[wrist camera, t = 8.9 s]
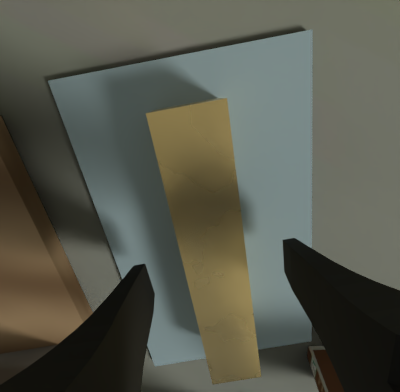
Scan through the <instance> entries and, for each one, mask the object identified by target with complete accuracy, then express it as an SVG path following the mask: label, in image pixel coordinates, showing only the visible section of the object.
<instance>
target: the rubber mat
mask: <svg viewBox="0 0 400 392" xmlns="http://www.w3.org/2000/svg"><path fill="white" fill-rule="evenodd" d="M48 83H49V85H50V88H51V91H52V93H53V96H54V99H55V101H56V104H57V107H58V109H59V112H60V115H61V117H62V120H63V123H64V125H65V128H66V131H67V133H68V136H69V139H70V141H71V144H72V147H73V149H74V152H75V155H76V157H77V160H78V163H79V165H80V168H81V171H82V173H83V176H84V179H85V181H86V184H87V187H88V189H89V192H90V195H91V197H92V200H93V203H94V205H95V208H96V211H97V213H98V216H99V218H100V221H101V224H102V226H103V229H104V232H105V234H106V237H107V240H108V242H109V245H110V248H111V250H112V253H113V256H114V258H115V261H116V264H117V266H118V269H119V272H120V274H121V277H122V279H123V278H124V277H125V276H126V274H127V273H128V272H129V271H130V269H131V268H132V267H133V266H134V265H140V264H146V268H147V271H148V274H149V277H150V280H151V283H152V286H153V290H154V293H155V299H154V313H153V318H152V323H151V328H150V333H149V338H148V343H147V346H148V349H149V352H150V354H151V357H152V360H153V362H154V365H155V366H160V365H166V364H172V363H179V362H185V361H191V360H197V359H204V358H206V355H205V351H204V347H203V343H202V339H201V335H200V331H199V327H198V323H197V319H196V315H195V311H194V307H193V303H192V299H191V294H190V290H189V286H188V282H187V278H186V274H185V270H184V266H183V262H182V258H181V254H180V250H179V246H178V242H177V238H176V234H175V230H174V226H173V222H172V218H171V214H170V210H169V206H168V201H167V197H166V193H165V189H164V185H163V181H162V177H161V173H160V169H159V165H158V161H157V157H156V153H155V149H154V145H153V141H152V137H151V133H150V129H149V125H148V121H147V117H146V113H148V112H151V111H154V110H157V109H162V108H168V107H173V106H178V105H183V104H189V103H194V102H199V101H205V100H210V99H215V98H227V102H228V110H229V118H230V126H231V134H232V142H233V151H234V159H235V167H236V175H237V183H238V191H239V200H240V208H241V216H242V224H243V232H244V240H245V249H246V257H247V265H248V273H249V281H250V289H251V298H252V306H253V314H254V322H255V330H256V338H257V347H258V350H260V349H266V348H272V347H278V346H284V345H291V344H297V343H303V342H309V341H312V323H311V321H310V320H309V318H308V316H307V315H306V313H305V311H304V309H303V308H302V306H301V304H300V303H299V301H298V299H297V298H296V296H295V294H294V292H293V291H292V289H291V286H290V284H289V282H288V279H287V277H286V275H285V272H284V257H283V240H285V239H291V238H296V239H297V240H299V241H301V242H302V243H304V244H305V245H307V246H308V247H310V248H312V30H307V31H302V32H297V33H291V34H286V35H281V36H276V37H271V38H266V39H260V40H255V41H250V42H245V43H240V44H235V45H230V46H224V47H219V48H214V49H209V50H204V51H199V52H193V53H188V54H183V55H178V56H173V57H168V58H163V59H157V60H152V61H147V62H142V63H137V64H132V65H126V66H121V67H116V68H111V69H106V70H101V71H96V72H90V73H85V74H80V75H75V76H70V77H65V78H59V79H54V80H49V81H48Z"/></svg>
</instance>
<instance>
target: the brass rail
mask: <svg viewBox="0 0 400 392" xmlns="http://www.w3.org/2000/svg"><path fill="white" fill-rule="evenodd" d="M146 117H147V121H148V125H149V129H150V133H151V137H152V141H153V145H154V149H155V153H156V157H157V161H158V165H159V169H160V173H161V177H162V181H163V185H164V189H165V193H166V197H167V201H168V206H169V210H170V214H171V218H172V222H173V226H174V230H175V234H176V238H177V242H178V246H179V250H180V254H181V258H182V262H183V266H184V270H185V274H186V278H187V282H188V286H189V290H190V294H191V299H192V303H193V307H194V311H195V315H196V319H197V323H198V327H199V331H200V335H201V339H202V343H203V347H204V351H205V355H206V359H207V363H208V367H209V371H210V375H211V379H212V383H213V384H219V383H225V382H231V381H238V380H244V379H250V378H257V377H261V371H260V363H259V355H258V347H257V338H256V330H255V322H254V314H253V306H252V298H251V289H250V281H249V273H248V265H247V257H246V249H245V240H244V232H243V224H242V216H241V208H240V200H239V191H238V183H237V175H236V167H235V159H234V151H233V142H232V134H231V126H230V118H229V110H228V102H227V98H215V99H210V100H205V101H199V102H194V103H189V104H183V105H178V106H173V107H168V108H162V109H157V110H154V111H151V112H148V113H146Z"/></svg>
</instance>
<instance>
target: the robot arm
mask: <svg viewBox="0 0 400 392" xmlns="http://www.w3.org/2000/svg"><path fill="white" fill-rule="evenodd" d="M283 257H284V272H285V275H286V277H287V279H288V282H289V284H290V286H291V289H292V291H293V292H294V294H295V296H296V298H297V299H298V301H299V303H300V304H301V306H302V308H303V309H304V311H305V313H306V315H307V316H308V318H309V320H310V321H311V323H312V325H313V326H314V328H315V330H316V332H317V334H318V335H319V337H320V339H321V341H322V343H323V346H324V348H325V350H326V352H327V354H328V356H329V358H330V360H331V363H332V365H333V367H334V369H335V372H336V374H337V376H338V378H339V381H340V383H341V385H342V387H343V390H344V392H400V290H397V289H394V288H391V287H389V286H386V285H383V284H380V283H378V282H375V281H373V280H371V279H368V278H366V277H364V276H362V275H359V274H357V273H355V272H353V271H351V270H349V269H347V268H345V267H343V266H341V265H339V264H337V263H335V262H334V261H332V260H330V259H328V258H326V257H325V256H323V255H321V254H320V253H318V252H316V251H315V250H313V249H312V248H310V247H308V246H307V245H305V244H304V243H302V242H301V241H299V240H297V239H296V238H291V239H285V240H283ZM154 299H155V293H154V290H153V286H152V283H151V280H150V277H149V274H148V271H147V268H146V264H140V265H134V266H133V267H132V268H131V269H130V271H129V272H128V273H127V274H126V276H125V277H124V278H123V279H122V281H121V282H120V283H119V284H118V285H117V287H116V288H115V289H114V290H113V292H112V293H111V294H110V295H109V296H108V297H107V298H106V299H105V301H104V302H103V303H102V304H101V305H100V306H99V307H98V308H97V309H96V310H95V312H94V313H93V314H92V315H91V316H90V317H89V318H88V319H86V320H85V321H84V322H83V323H82V324H81V325H80V326H79V327H78V328H77V329H76V330H75V331H73V332H72V333H71V334H70V335H69V336H67V337H66V338H65V339H64V340H63V341H61V342H60V343H59V344H58V345H57V346H55V347H54V348H53V349H52V350H50V351H49V352H48V353H46V354H45V355H44V356H42V357H41V358H39V359H38V360H37V361H35V362H34V363H33V364H31V365H30V366H28V367H27V368H25V369H24V370H22V371H21V372H19V373H18V374H16V375H15V376H13V377H12V378H10V379H9V380H7V381H5V382H4V383H2V384H1V385H0V392H141V383H142V373H143V365H144V359H145V353H146V348H147V343H148V338H149V333H150V328H151V323H152V318H153V313H154Z"/></svg>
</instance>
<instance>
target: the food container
mask: <svg viewBox="0 0 400 392" xmlns="http://www.w3.org/2000/svg"><path fill="white" fill-rule="evenodd" d="M307 358H308V361H309V364H310V367H311V370H312V373H313V376H314V379H315V382H316V384H317V387H318V390H319V392H344V390H343V387H342V385H341V383H340V381H339V378H338V376H337V374H336V372H335V369H334V367H333V365H332V363H331V360H330V358H329V356H328V354H327V352H326V350H325V348H324V346H308V352H307Z"/></svg>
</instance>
